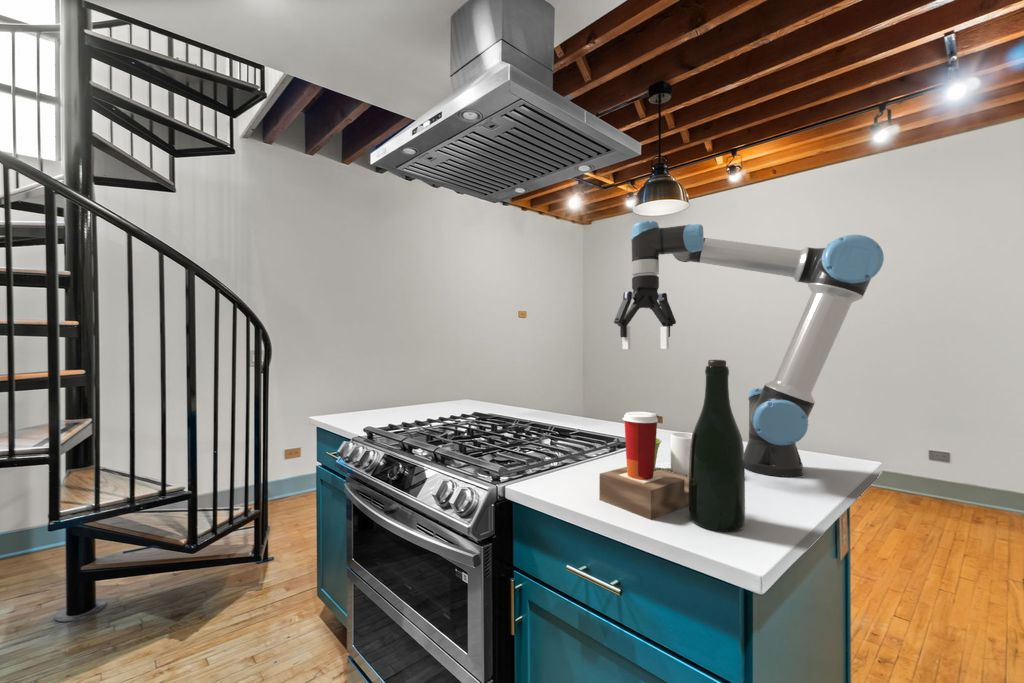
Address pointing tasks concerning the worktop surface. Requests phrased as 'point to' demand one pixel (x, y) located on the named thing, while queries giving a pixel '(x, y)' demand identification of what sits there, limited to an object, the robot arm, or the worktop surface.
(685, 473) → the mug
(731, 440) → the dark green wine bottle
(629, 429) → the paper cup
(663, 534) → the worktop surface
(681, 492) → the step riser
